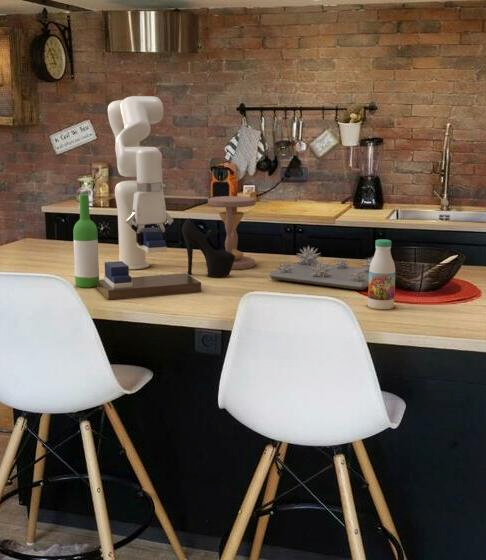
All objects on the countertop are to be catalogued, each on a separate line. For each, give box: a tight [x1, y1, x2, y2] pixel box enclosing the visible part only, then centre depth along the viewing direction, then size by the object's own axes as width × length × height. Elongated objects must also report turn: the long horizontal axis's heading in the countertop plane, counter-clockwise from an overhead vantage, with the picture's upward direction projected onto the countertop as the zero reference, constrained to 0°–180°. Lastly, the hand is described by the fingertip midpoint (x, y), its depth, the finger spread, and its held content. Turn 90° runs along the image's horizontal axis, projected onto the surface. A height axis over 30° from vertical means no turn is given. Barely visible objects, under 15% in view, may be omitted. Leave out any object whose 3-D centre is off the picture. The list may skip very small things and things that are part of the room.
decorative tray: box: [268, 246, 373, 291], centre depth 270 cm, size 35×26×10 cm
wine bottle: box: [72, 193, 100, 289], centre depth 256 cm, size 8×8×30 cm
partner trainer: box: [103, 260, 133, 289], centre depth 248 cm, size 13×6×6 cm, turn 23°
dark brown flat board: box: [96, 272, 202, 301], centre depth 253 cm, size 16×30×3 cm, turn 113°
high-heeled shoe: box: [181, 217, 235, 279], centre depth 274 cm, size 8×19×20 cm, turn 78°
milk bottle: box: [367, 238, 396, 310], centre depth 232 cm, size 8×8×20 cm
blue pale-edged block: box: [137, 227, 168, 254], centre depth 250 cm, size 13×6×6 cm, turn 23°
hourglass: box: [207, 195, 256, 271], centre depth 292 cm, size 18×18×25 cm
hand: (150, 244), depth 252 cm, fingers closed on blue pale-edged block, 6 cm apart
